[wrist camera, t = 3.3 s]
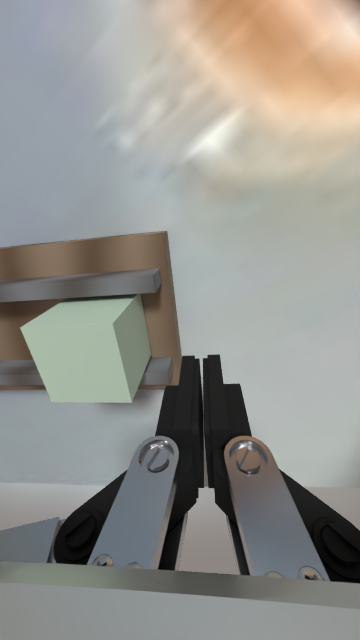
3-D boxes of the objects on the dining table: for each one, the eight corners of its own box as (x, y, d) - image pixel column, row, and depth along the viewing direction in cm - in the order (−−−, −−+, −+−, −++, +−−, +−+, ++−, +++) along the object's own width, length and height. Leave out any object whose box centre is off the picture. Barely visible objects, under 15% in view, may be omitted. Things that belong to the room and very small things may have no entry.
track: (167, 230, 16) (147, 240, 11) (184, 376, 21) (175, 429, 16) (-114, 259, 19) (-229, 276, 14) (-42, 378, 24) (-107, 423, 19)
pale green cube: (140, 291, 16) (112, 323, 11) (151, 354, 18) (131, 402, 13) (71, 295, 17) (19, 327, 12) (89, 355, 19) (51, 402, 14)
